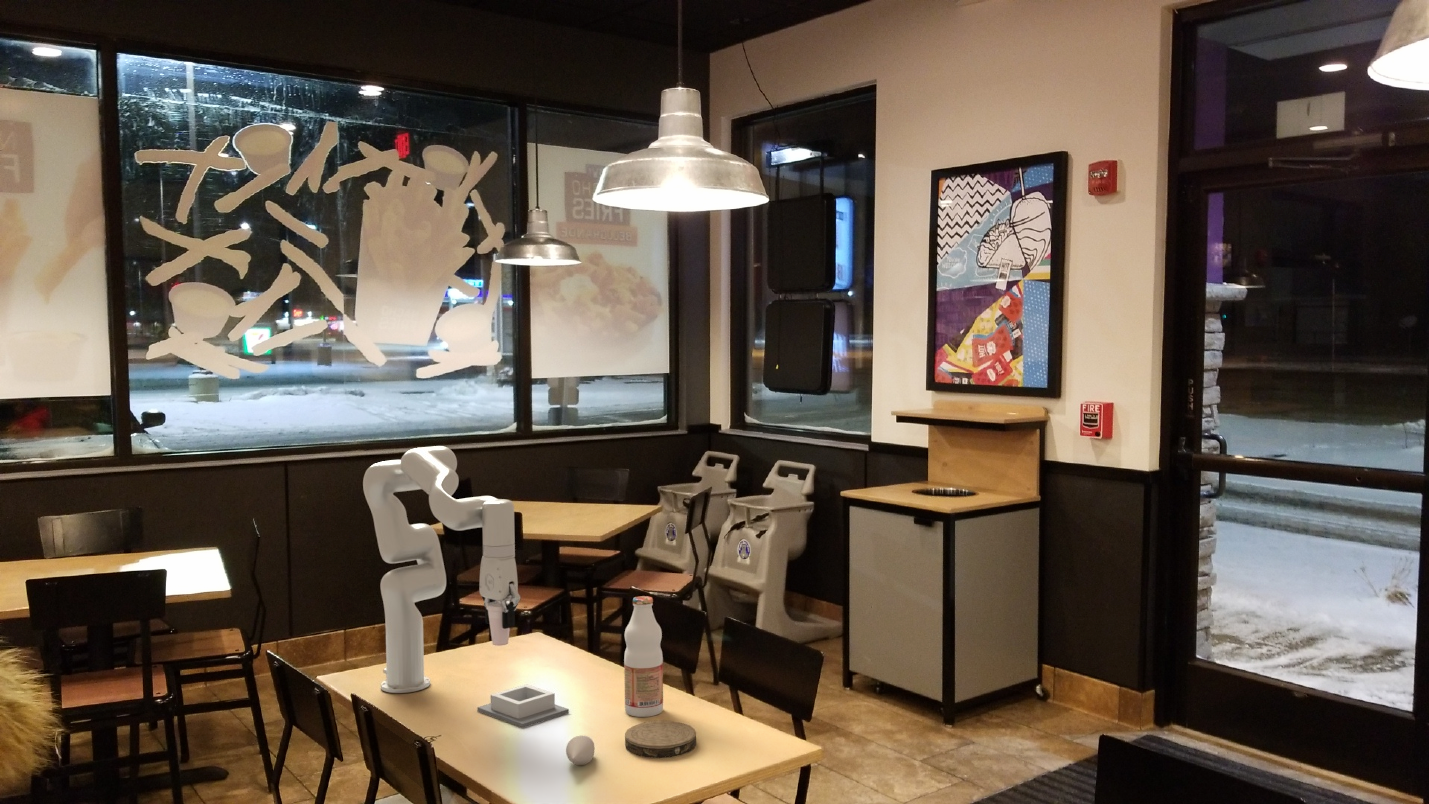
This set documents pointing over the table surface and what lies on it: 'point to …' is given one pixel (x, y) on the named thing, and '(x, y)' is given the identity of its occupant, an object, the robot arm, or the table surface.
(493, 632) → the smoothie
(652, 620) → the fruit juice
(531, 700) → the cup holder
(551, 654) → the table surface
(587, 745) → the beige pointed round piece
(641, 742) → the brown flat round piece
